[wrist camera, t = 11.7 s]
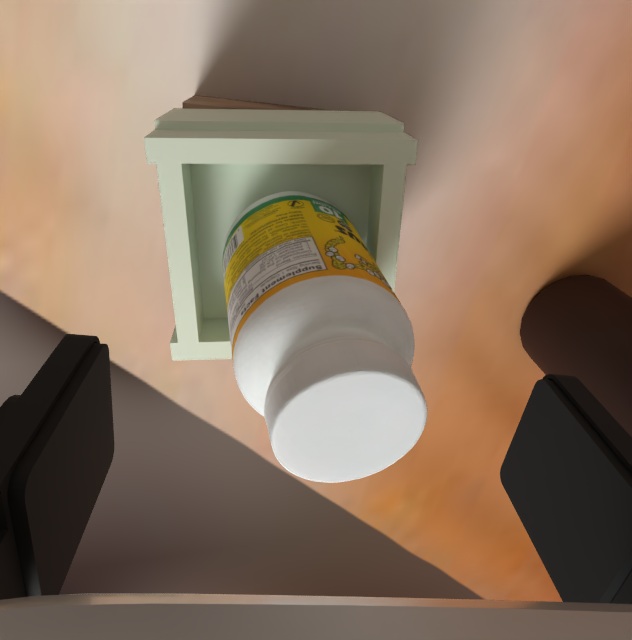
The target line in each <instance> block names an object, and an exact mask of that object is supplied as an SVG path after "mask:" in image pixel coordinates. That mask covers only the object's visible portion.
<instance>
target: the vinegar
mask: <svg viewBox="0 0 632 640" xmlns="http://www.w3.org/2000/svg"><path fill="white" fill-rule="evenodd" d="M520 336H521V340H522V345H523V348H524V349H525V350H526V352H527V353H528V355H529V356H530V357H531V359H532V360H533V361H534V362H535V363H536V364H537V365H538V367H539V368H540V369H541V370H542V371H543V372H544V373H545V375H547V374H559V375H571V376H575V377H577V378H578V379H579V380H580V381H581V382H582V383H583V385H584V386H585V387H586V388H587V389H588V390H589V391H590V392H591V393H592V394H593V395H594V397H595V398H596V399H597V400H598V401H599V402H600V403H601V404H602V405H603V406H604V408H605V409H606V410H607V411H608V412H609V413H610V414H611V415H612V416H613V417H614V418H615V420H616V421H617V422H618V423H619V424H620V425H621V426H622V427H623V428H624V429H625V431H626V432H627V433H628V434H629V435H630V436H631V437H632V298H631V297H630V296H628V295H627V294H625V293H624V292H622V291H621V290H619V289H618V288H616V287H615V286H613V285H612V284H610V283H609V282H607V281H606V280H604V279H602V278H598V277H593V276H589V275H580V276H570V277H567V278H565V279H562V280H559V281H557V282H554V283H553V284H551V285H550V286H548V287H547V288H546V289H544V290H543V291H541V292H540V293H539V294H538V295H537V296H536V297H535V299H534V300H533V301H532V302H531V303H530V304H529V306H528V308H527V310H526V312H525V314H524V316H523V318H522V322H521V329H520Z"/></svg>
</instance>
